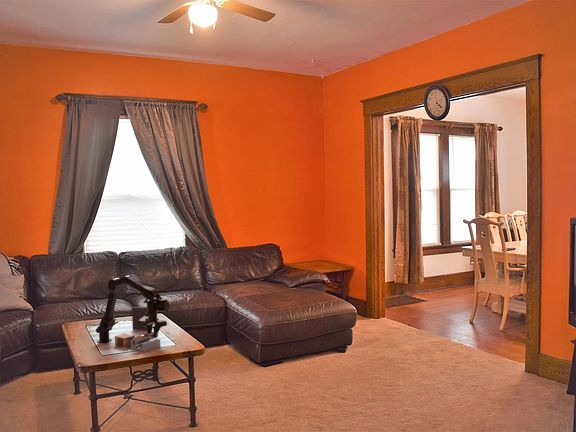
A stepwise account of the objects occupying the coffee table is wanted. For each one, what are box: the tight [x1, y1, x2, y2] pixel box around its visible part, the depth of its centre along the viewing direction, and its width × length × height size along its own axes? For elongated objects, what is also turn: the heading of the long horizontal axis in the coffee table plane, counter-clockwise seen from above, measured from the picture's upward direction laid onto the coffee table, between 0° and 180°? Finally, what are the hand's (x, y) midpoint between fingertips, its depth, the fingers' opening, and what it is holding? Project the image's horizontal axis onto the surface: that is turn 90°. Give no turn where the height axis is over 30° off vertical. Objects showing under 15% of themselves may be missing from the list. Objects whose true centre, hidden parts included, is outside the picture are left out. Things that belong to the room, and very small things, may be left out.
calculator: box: [131, 306, 147, 331], centre depth 353 cm, size 11×4×15 cm, turn 74°
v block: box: [130, 338, 161, 352], centre depth 310 cm, size 12×11×4 cm
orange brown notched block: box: [114, 333, 136, 349], centre depth 315 cm, size 7×9×6 cm
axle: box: [132, 331, 159, 345], centre depth 310 cm, size 16×4×4 cm, turn 147°
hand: (152, 336), depth 315 cm, fingers closed on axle, 4 cm apart
